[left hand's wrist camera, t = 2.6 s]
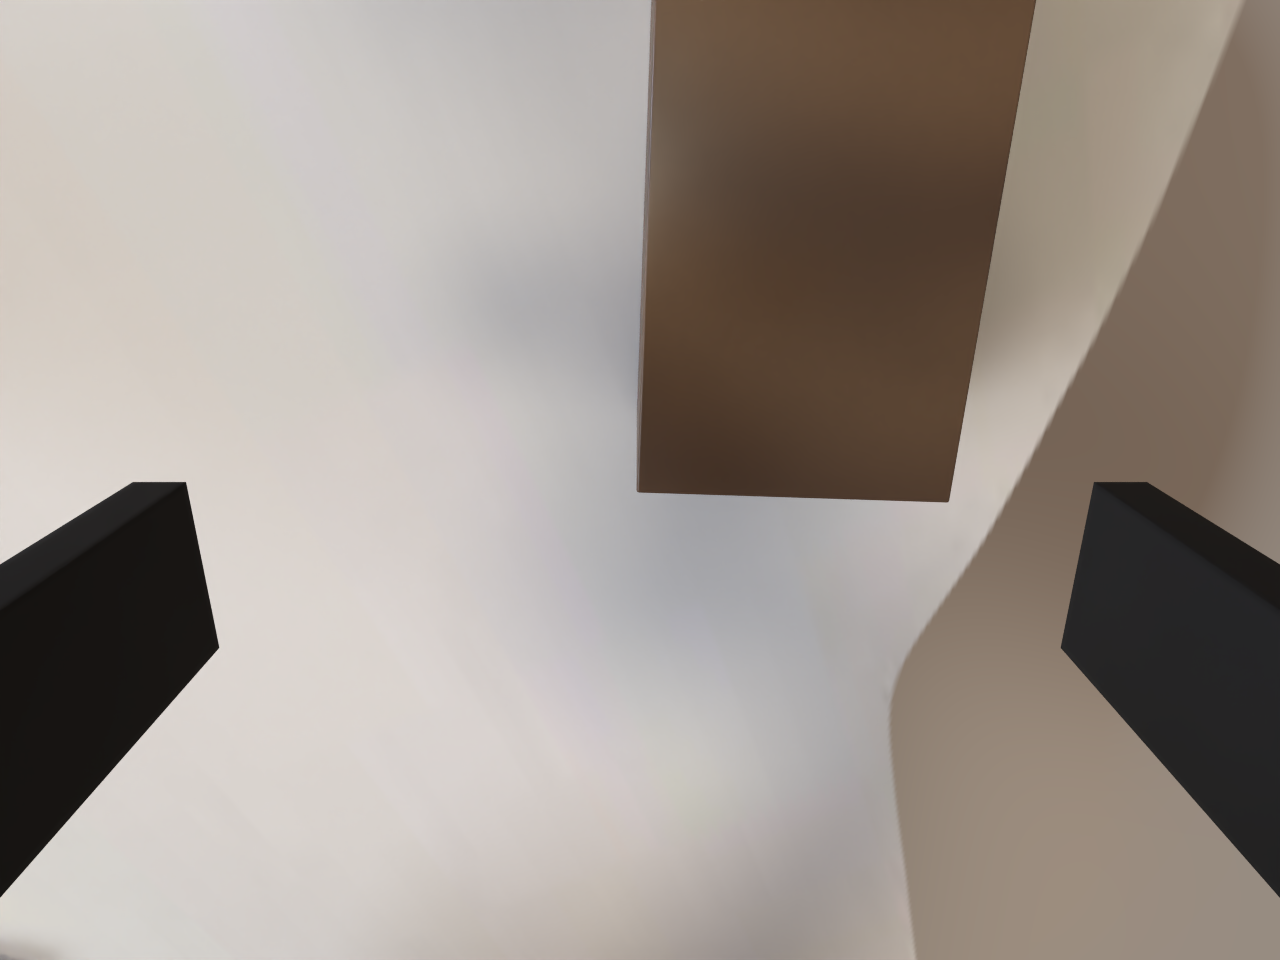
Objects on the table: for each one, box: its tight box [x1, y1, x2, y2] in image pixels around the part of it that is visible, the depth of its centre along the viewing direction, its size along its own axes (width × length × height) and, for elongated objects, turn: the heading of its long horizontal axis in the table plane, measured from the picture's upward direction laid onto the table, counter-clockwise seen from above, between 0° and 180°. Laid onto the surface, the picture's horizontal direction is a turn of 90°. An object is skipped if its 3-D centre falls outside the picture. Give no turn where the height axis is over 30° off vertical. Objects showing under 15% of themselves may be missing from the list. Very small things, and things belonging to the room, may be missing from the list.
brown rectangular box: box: [637, 0, 1036, 502], centre depth 28 cm, size 19×10×10 cm, turn 178°
